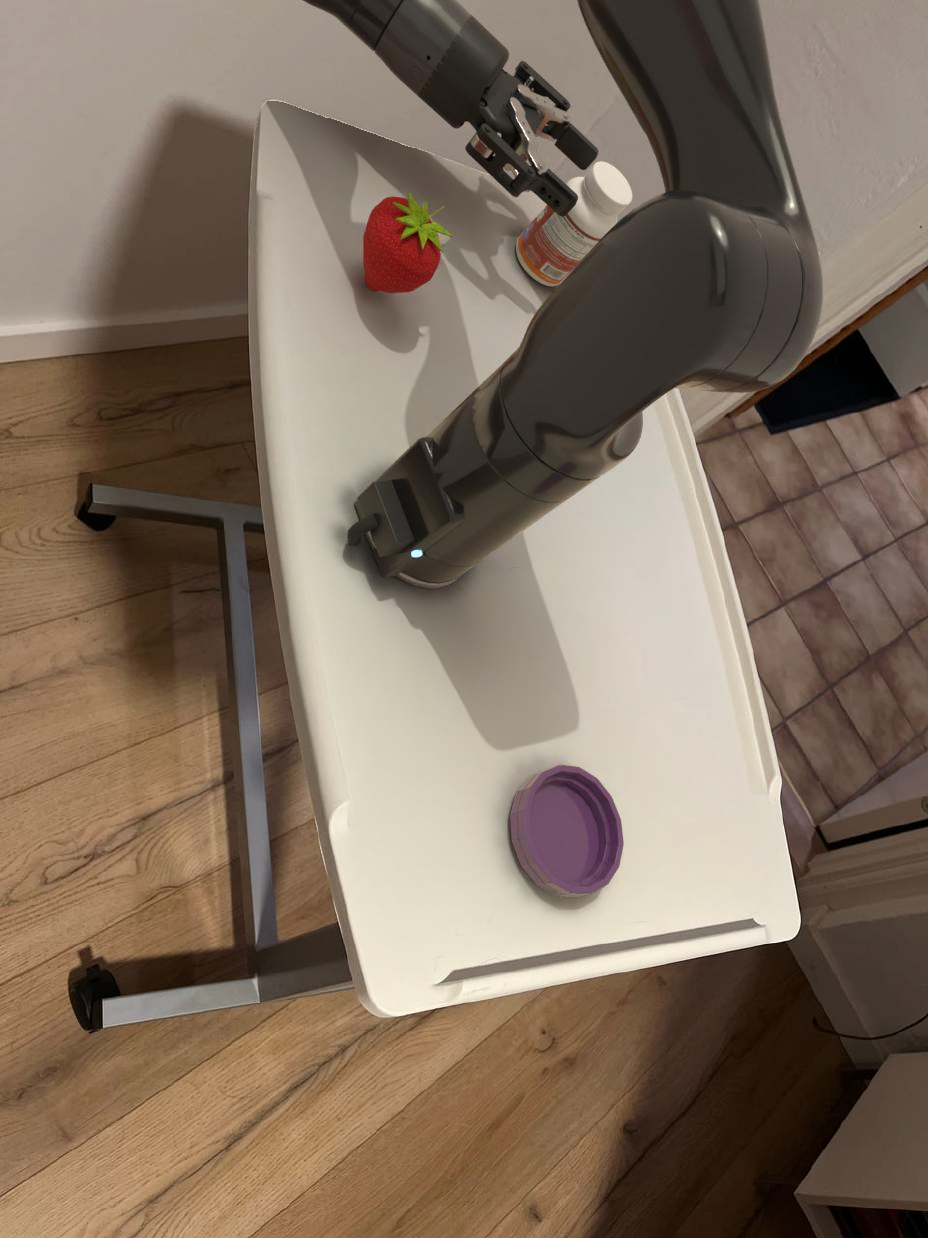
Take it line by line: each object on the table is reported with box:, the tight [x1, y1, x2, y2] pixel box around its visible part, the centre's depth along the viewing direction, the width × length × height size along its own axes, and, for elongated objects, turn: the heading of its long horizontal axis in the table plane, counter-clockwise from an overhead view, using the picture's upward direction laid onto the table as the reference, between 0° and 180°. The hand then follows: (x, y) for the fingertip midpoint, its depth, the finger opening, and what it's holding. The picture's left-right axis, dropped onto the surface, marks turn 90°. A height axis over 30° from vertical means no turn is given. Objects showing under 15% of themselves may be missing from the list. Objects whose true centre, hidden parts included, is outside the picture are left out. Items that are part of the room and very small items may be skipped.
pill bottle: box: [515, 161, 633, 287], centre depth 85 cm, size 6×6×11 cm
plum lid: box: [509, 764, 625, 898], centre depth 65 cm, size 9×9×2 cm
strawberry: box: [362, 191, 454, 294], centre depth 71 cm, size 6×8×10 cm
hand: (582, 184), depth 82 cm, fingers open, 8 cm apart
